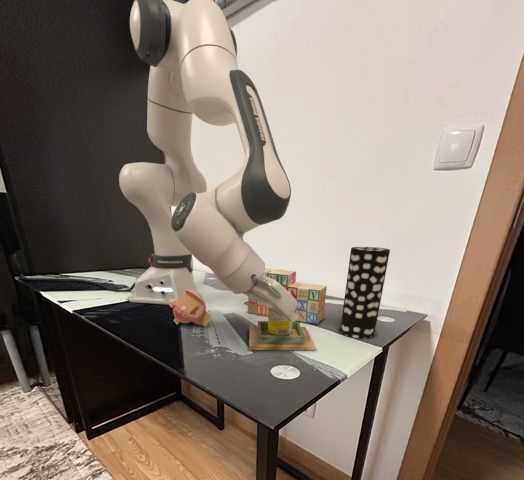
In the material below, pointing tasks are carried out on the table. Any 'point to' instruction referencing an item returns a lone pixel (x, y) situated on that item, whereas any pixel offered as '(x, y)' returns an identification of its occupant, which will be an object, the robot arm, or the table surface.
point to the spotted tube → (363, 291)
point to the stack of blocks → (295, 296)
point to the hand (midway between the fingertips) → (282, 312)
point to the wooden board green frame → (279, 338)
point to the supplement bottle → (278, 324)
